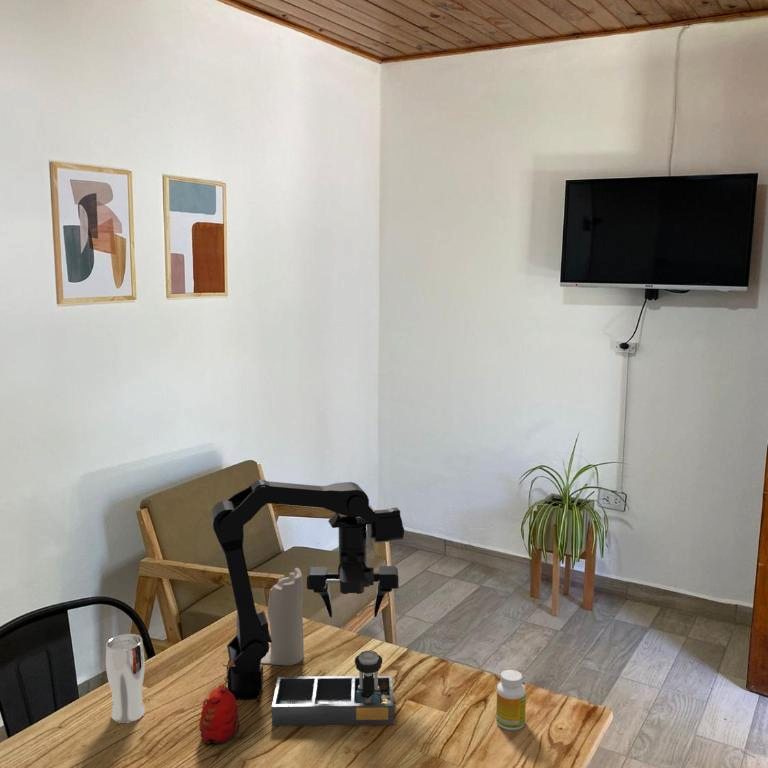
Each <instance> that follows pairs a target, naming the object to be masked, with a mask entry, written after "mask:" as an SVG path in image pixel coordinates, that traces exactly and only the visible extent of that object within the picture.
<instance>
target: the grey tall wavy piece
mask: <svg viewBox="0 0 768 768" xmlns="http://www.w3.org/2000/svg"><path fill="white" fill-rule="evenodd" d="M303 591H304V590H303V574H302V571H301V570H300V568H298V567H295V568H294V571H293V572H289V575H288V577H282V578H280V579H278V581H277V583H276V584H274V585H273V586H272V587H271V588H270V589H269V596H268V602H267V617H268V621H269V627H270V628H269V633H270V636H271V640H272V642H271V643H270V646H269V652H268V653H267V654H266V656H265V657H263V658H262V659H261V662H260V665H275V666H276V665H277V666H279V665H280V666H293V665H296V664H298V663H301V661H303V660H304V656H305V654H304V653H305V651H304V649H305V648H304V647H305V646H304V645H305V644H304V620H303V619H304V618H303V614H304V613H303V608H304V607H303V603H304V602H303V600H304V599H303V597H304V595H303V594H304V593H303Z"/></svg>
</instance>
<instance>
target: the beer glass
mask: <svg viewBox="0 0 768 768" xmlns="http://www.w3.org/2000/svg"><path fill="white" fill-rule="evenodd" d="M145 664H146V663H145V651H144V644H143V638H142V636H141V635H138V634H135V633H127V634H119V635H115V636H114V637H112V638H110V639H108V641H107V642H106V643H105V667H106V668H105V669H106V675H107V676H106V677H107V680H108V684H109V688H110V693H111V696H112V710H111V720H112V719H113V720H114V721H116V722H120V723H127V722H132V723H134V722H133V721H135V722H137V721H139V720H140V719H142V718H143V717H144V715H145V712H146V708H145V705H144V702H143V685H144V677H145V668H146V667H145ZM142 716H143V717H142ZM141 717H142V718H141ZM138 719H139V720H138ZM113 720H112V721H113ZM136 720H137V721H136ZM114 721H113V722H114ZM116 722H115V723H116ZM120 723H119V724H120ZM127 724H128V723H127Z"/></svg>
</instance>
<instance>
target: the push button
mask: <svg viewBox="0 0 768 768" xmlns="http://www.w3.org/2000/svg"><path fill="white" fill-rule="evenodd" d="M354 664H355V668H356V670H357V671H359V675H358V676H359V678H360V685H358V689H357V692H356V703H383V702H386V701H387V703H389V700H384V699H381V698H389V696H387V697H386V695H381V688H379V686H378V676H379V671H380V669H381V668H382V664H383V657H382V656H381V655H380V654H378V653H377V652H376V651H374V650H370V649H369V650H363V651H362V652H360V653H359V654H358V655H357V656H356V657H355V658H354ZM363 676H364V680H363Z"/></svg>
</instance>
